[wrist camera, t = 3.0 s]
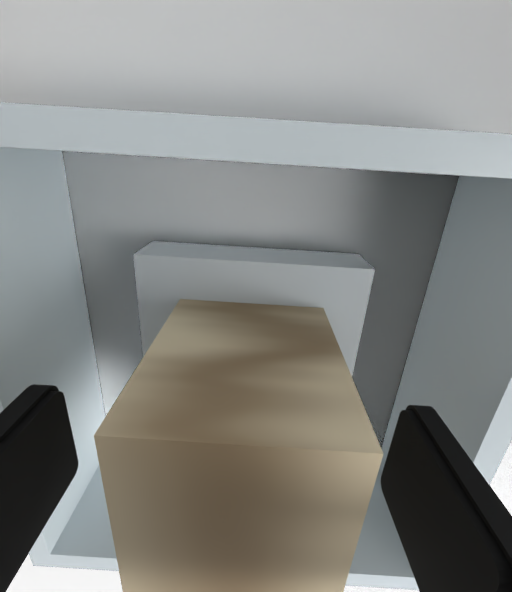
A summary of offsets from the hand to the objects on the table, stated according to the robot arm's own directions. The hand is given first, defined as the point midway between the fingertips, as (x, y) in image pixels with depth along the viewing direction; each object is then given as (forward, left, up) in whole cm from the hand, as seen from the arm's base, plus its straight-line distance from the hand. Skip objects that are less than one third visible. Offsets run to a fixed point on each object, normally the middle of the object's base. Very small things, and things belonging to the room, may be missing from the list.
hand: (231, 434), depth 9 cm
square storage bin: (0, 0, -5) cm, 5 cm away
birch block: (0, 0, -3) cm, 3 cm away
